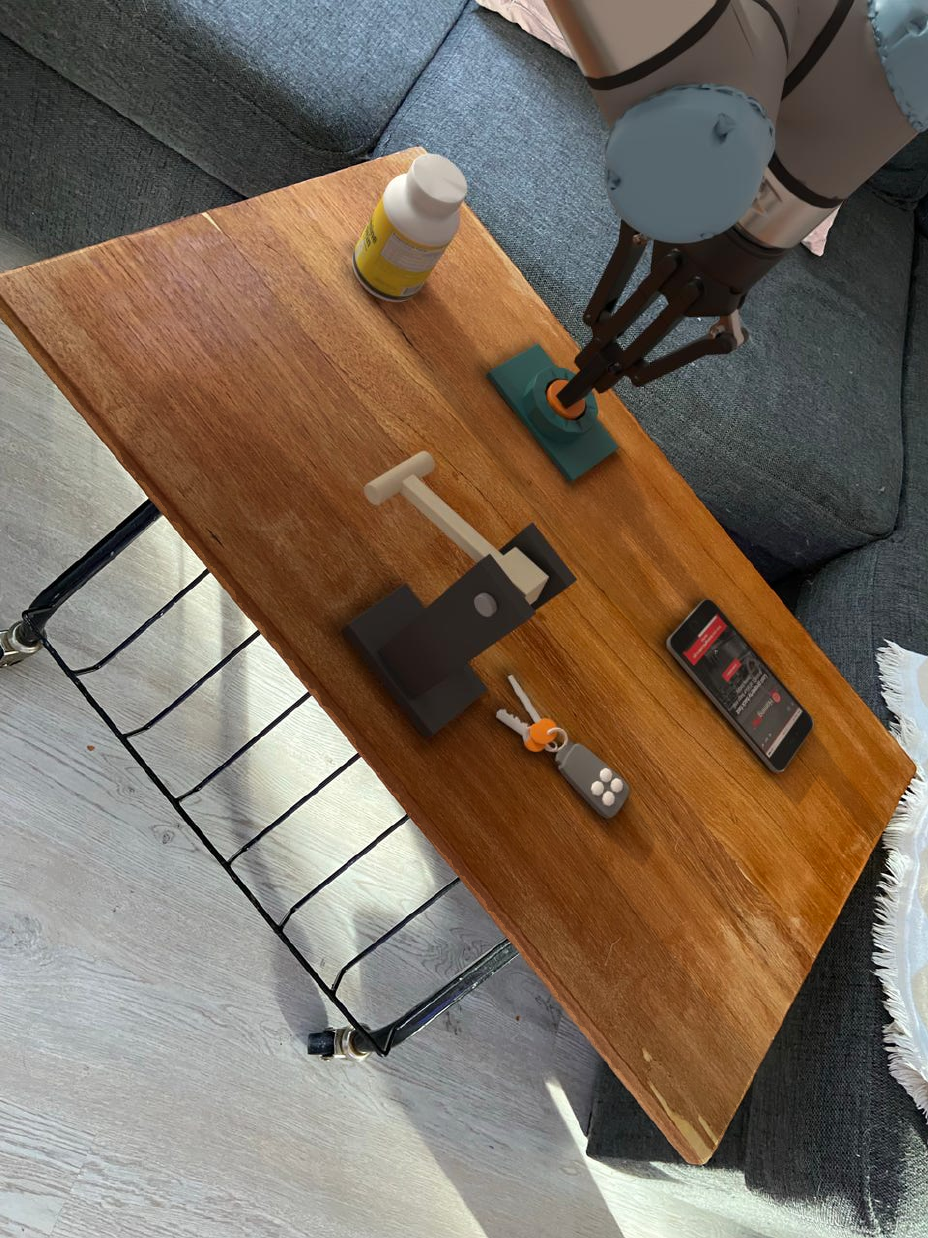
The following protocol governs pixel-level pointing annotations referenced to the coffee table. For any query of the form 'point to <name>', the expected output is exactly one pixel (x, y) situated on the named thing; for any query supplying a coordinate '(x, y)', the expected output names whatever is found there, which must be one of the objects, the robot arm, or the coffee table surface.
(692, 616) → the smartphone
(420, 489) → the switch lever
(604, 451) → the teal button base
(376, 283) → the pill bottle
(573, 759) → the key chain
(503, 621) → the lever switch stand
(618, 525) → the coffee table surface
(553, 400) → the button
